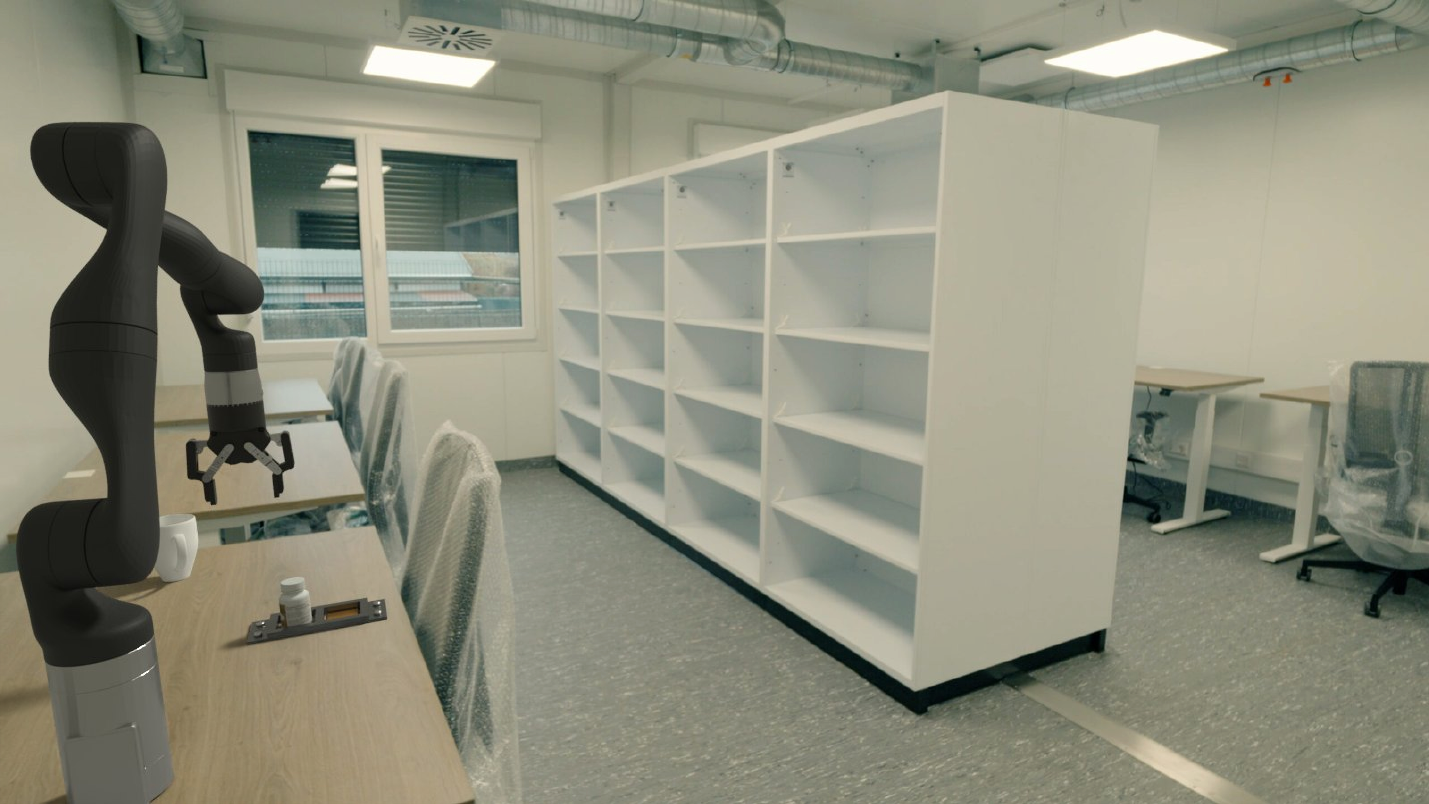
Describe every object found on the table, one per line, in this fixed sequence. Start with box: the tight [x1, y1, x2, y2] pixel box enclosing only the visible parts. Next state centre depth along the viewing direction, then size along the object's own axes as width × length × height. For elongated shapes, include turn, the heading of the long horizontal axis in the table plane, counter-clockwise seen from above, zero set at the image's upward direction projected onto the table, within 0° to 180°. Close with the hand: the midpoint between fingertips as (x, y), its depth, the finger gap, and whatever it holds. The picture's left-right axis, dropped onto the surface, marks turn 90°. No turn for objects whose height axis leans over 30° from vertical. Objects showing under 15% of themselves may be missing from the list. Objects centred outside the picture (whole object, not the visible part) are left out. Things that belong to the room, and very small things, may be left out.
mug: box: [153, 513, 199, 583], centre depth 143 cm, size 12×8×11 cm
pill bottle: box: [278, 576, 313, 628], centre depth 124 cm, size 4×4×8 cm
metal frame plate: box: [246, 597, 388, 646], centre depth 126 cm, size 8×20×1 cm, turn 116°
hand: (246, 500), depth 121 cm, fingers open, 8 cm apart
